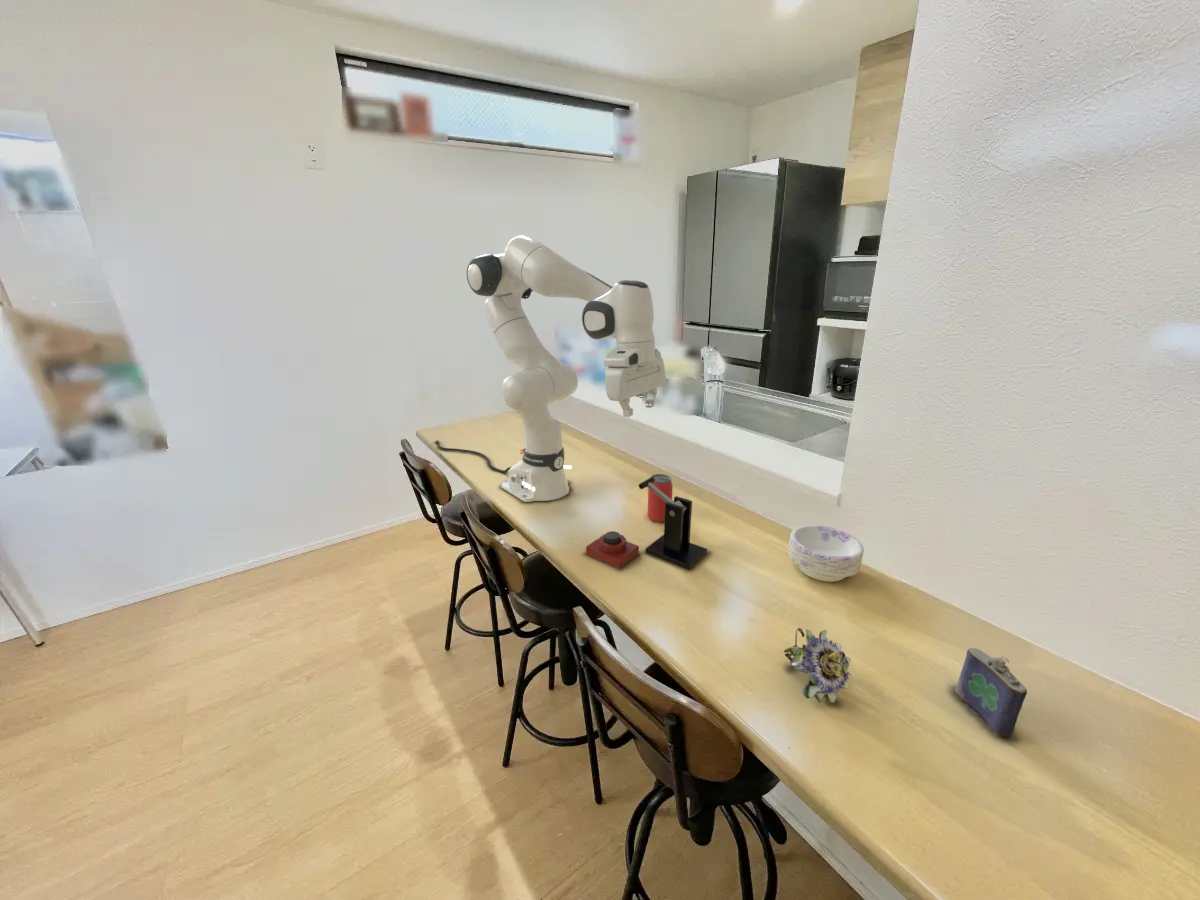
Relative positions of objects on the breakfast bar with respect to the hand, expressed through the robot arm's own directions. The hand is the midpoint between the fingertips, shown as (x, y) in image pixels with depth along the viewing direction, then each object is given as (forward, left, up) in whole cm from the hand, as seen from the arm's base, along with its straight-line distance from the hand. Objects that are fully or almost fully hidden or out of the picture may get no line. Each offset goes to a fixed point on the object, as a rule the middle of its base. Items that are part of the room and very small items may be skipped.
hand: (639, 411), depth 118 cm
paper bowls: (+43, +12, -33) cm, 56 cm away
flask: (+74, -13, -33) cm, 82 cm away
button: (+1, -12, -30) cm, 32 cm away
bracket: (+13, -2, -33) cm, 36 cm away
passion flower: (+51, -23, -33) cm, 65 cm away
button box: (+1, -12, -33) cm, 35 cm away
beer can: (0, +11, -33) cm, 35 cm away
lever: (+9, -2, -20) cm, 22 cm away
